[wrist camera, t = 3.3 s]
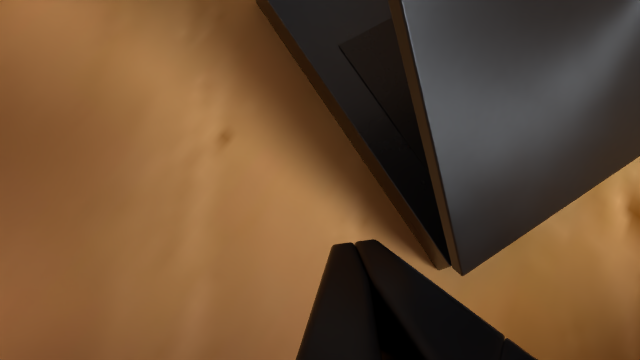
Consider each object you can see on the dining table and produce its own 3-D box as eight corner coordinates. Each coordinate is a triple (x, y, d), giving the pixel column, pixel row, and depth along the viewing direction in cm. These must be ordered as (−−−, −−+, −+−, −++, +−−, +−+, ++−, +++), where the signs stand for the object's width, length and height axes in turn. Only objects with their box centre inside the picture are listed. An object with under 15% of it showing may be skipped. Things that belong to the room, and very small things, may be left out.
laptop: (256, 2, 26) (253, -22, 24) (546, -139, 30) (562, -168, 28) (438, 271, 22) (450, 266, 20) (740, 68, 26) (773, 49, 24)
